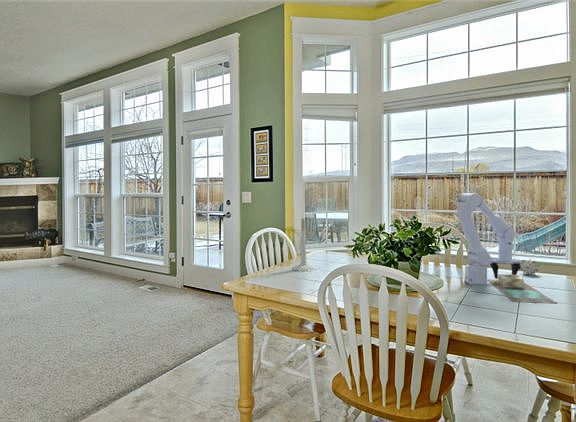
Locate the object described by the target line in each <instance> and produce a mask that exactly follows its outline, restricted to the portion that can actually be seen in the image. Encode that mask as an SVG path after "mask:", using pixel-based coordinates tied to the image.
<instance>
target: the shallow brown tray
mask: <svg viewBox="0 0 576 422" xmlns="http://www.w3.org/2000/svg"><path fill="white" fill-rule="evenodd" d="M487 282H488V283H490V285H492V286H493V287H494V288H496V289H497V290H498V291H500V293H501V294H503V295H504V296H506V298H508V299H509V300H510V301H512V302H515V303H532V304H533V303H535V304H558V302H557V301H555V300H553V299H551V298H550V297H549V296H547V295H545V294H543V293H542V292H541V291H538V290H537V289H535V288H534V287H533V286H531V285H529V284H528V283H526V282H524V288H515V287H504V286H502V285H501V284H499V283H498V279H488V278H487Z"/></svg>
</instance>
